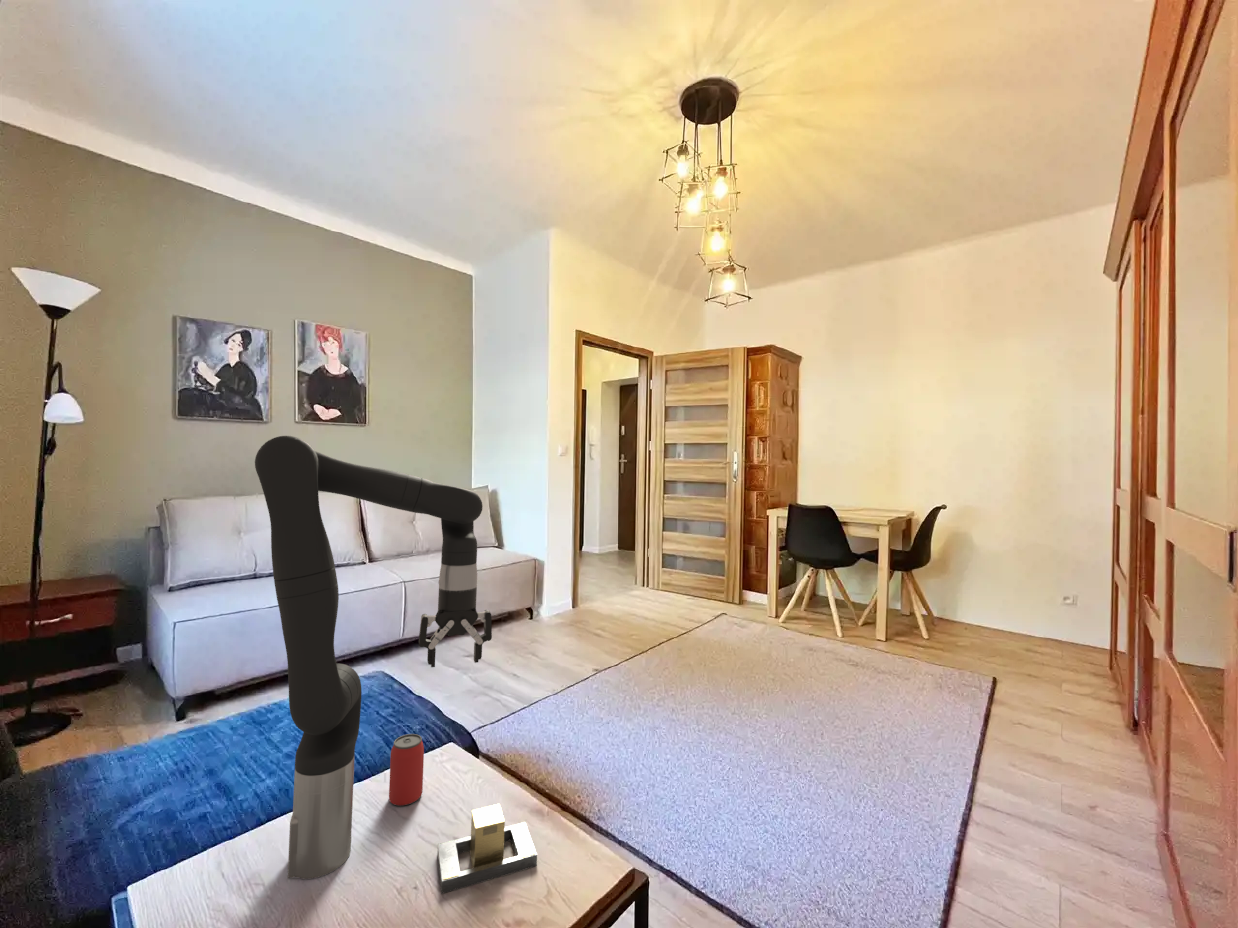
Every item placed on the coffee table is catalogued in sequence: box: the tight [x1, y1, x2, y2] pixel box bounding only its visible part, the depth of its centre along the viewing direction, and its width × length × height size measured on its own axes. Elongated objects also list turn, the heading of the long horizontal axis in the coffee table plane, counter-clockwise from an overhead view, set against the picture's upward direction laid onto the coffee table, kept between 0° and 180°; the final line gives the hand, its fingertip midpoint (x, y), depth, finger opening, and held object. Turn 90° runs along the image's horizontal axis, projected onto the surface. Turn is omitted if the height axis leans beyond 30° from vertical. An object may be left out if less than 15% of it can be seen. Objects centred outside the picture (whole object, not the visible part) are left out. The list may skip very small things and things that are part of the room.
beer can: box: [388, 733, 425, 807], centre depth 107 cm, size 7×7×12 cm
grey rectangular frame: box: [436, 821, 538, 894], centre depth 90 cm, size 16×9×2 cm, turn 114°
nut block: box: [469, 803, 506, 868], centre depth 90 cm, size 5×5×8 cm
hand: (454, 663), depth 104 cm, fingers open, 8 cm apart
